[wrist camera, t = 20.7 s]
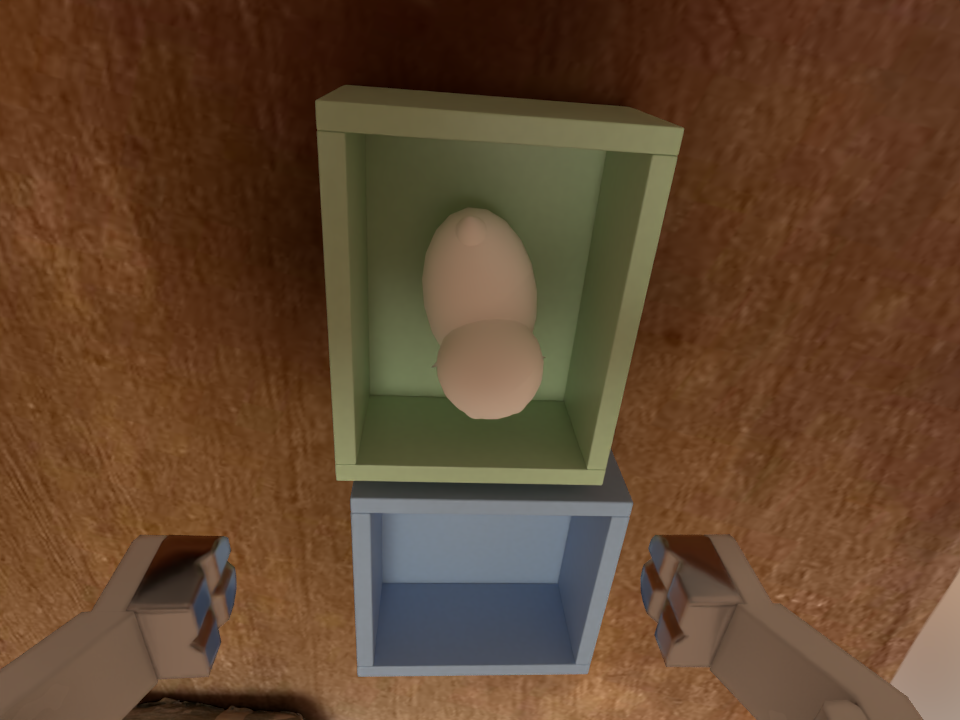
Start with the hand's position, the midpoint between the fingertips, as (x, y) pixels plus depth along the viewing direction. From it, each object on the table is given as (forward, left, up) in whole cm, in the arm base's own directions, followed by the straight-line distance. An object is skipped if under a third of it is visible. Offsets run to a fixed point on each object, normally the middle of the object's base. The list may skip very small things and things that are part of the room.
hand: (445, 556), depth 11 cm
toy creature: (0, +2, -15) cm, 15 cm away
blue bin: (+13, +2, -15) cm, 20 cm away
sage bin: (0, +1, -15) cm, 15 cm away
